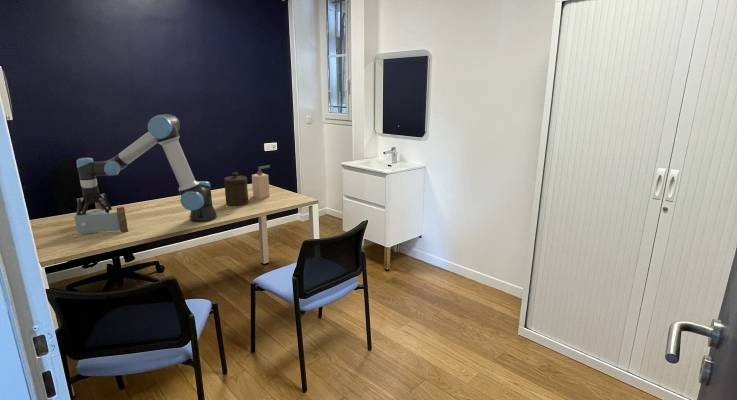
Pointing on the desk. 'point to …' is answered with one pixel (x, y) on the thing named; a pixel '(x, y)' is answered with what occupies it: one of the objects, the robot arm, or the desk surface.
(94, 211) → the toilet tissue
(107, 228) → the door
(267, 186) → the soap dispenser
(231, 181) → the wooden container
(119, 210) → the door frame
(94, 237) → the desk surface
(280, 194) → the desk surface
